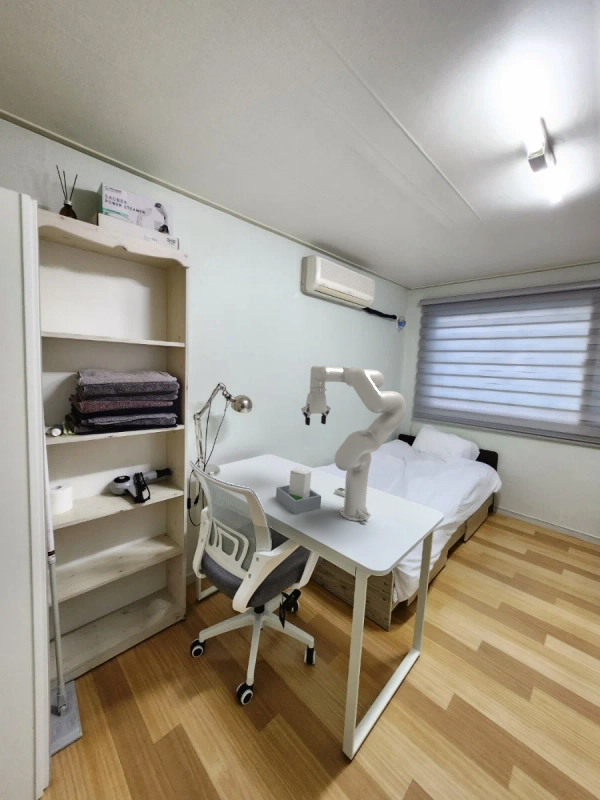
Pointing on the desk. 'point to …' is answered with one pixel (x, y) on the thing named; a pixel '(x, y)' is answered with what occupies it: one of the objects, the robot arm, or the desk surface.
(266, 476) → the desk surface
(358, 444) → the robot arm
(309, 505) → the tote
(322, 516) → the desk surface
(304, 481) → the skincare box
